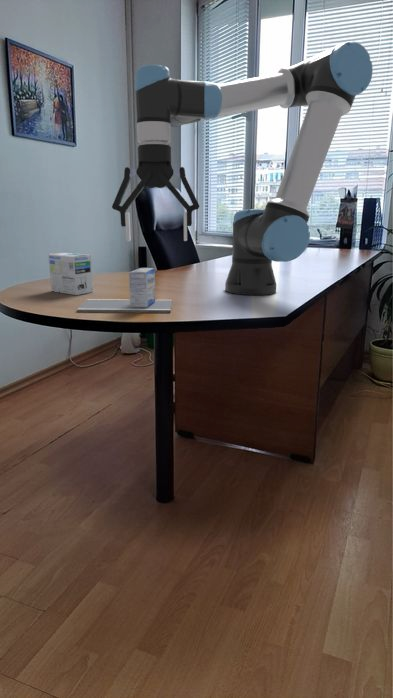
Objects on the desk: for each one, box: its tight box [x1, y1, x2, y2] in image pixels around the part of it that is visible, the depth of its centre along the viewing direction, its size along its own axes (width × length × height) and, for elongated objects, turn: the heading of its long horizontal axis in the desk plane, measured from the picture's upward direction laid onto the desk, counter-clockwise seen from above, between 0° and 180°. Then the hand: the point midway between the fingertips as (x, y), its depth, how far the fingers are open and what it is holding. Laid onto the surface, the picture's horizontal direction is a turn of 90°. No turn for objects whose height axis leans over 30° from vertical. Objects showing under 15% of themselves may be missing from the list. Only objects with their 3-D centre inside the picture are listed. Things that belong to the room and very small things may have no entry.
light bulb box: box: [48, 252, 94, 296], centre depth 135 cm, size 11×7×11 cm, turn 58°
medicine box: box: [128, 267, 156, 308], centre depth 117 cm, size 8×4×9 cm, turn 170°
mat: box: [76, 298, 173, 314], centre depth 118 cm, size 22×12×1 cm, turn 91°
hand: (157, 240), depth 114 cm, fingers open, 13 cm apart
